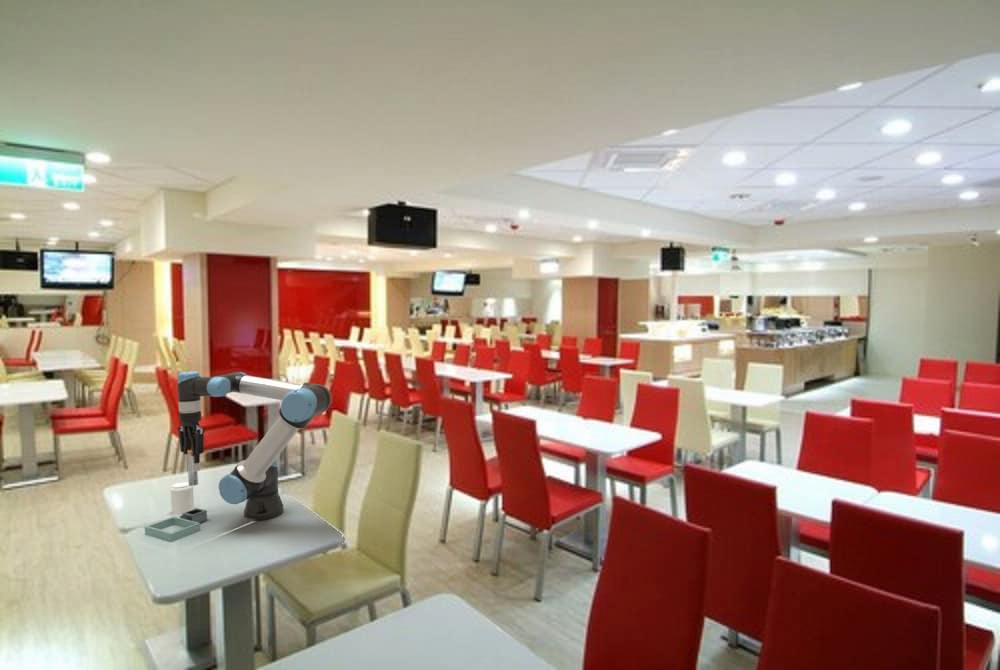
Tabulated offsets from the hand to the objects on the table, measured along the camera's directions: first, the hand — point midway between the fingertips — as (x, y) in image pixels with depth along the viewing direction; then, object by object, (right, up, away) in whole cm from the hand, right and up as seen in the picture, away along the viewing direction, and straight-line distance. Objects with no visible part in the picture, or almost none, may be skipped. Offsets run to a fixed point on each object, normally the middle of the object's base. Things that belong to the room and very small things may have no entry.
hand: (192, 470), depth 211 cm
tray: (-2, -22, -9) cm, 24 cm away
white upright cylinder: (-12, -21, +14) cm, 28 cm away
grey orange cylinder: (0, -6, 0) cm, 6 cm away
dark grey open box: (-1, -21, +2) cm, 22 cm away
